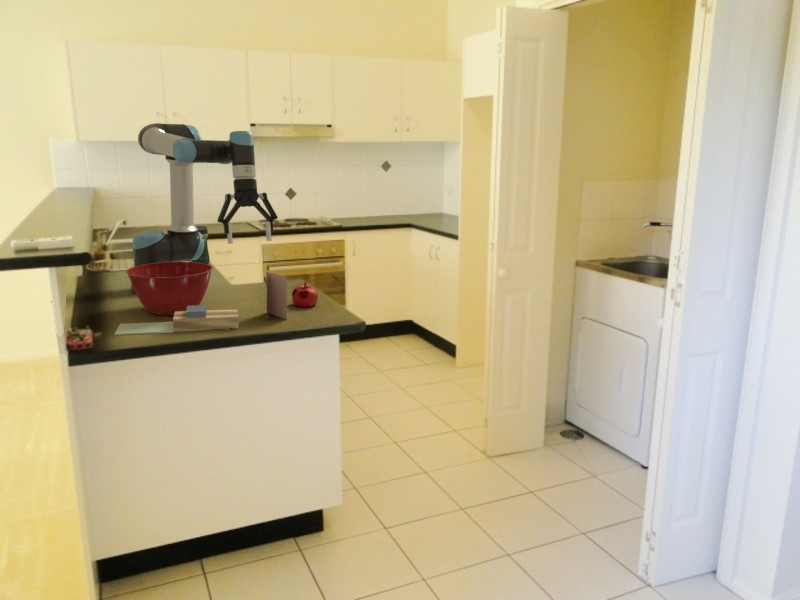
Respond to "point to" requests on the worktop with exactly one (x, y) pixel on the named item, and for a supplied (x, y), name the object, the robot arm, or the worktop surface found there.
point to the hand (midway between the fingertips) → (250, 242)
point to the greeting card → (276, 295)
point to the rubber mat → (145, 328)
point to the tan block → (206, 320)
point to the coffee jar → (205, 254)
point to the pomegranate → (304, 296)
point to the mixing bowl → (170, 285)
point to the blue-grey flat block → (196, 311)
